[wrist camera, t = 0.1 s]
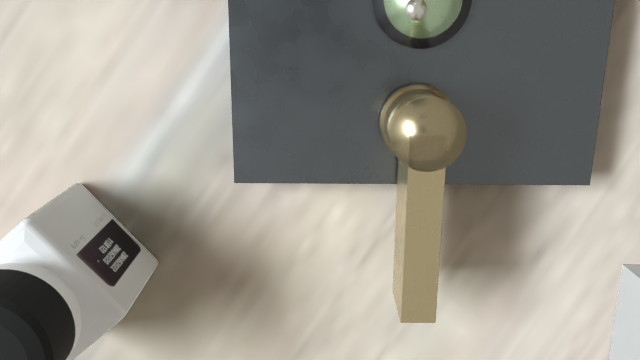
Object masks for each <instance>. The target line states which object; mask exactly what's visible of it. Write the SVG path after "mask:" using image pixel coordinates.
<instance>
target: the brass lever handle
mask: <svg viewBox="0 0 640 360" xmlns="http://www.w3.org/2000/svg"><path fill="white" fill-rule="evenodd" d="M379 126H380V131H381V134H382V137H383V139H384V141H385V143H386V144H387V146H388V147H389V148H390V149H391V150H392V151H393V152H394V153H395V154H396V156H397V157H398V179H397V202H396V225H395V249H394V272H393V294H394V298H395V302H396V306H397V310H398V314H399V318H400V322H401V323H435V322H436V306H437V291H438V276H439V261H440V245H441V230H442V215H443V200H444V184H445V169H446V167H447V166H448V165H450V164H451V163H453V162H454V161H455V160H456V159H457V158H458V156H459V155H460V154H461V152H462V150H463V148H464V146H465V142H466V137H467V129H466V124H465V120H464V118H463V116H462V114H461V113H460V111H459V110H458V109H457V108H456V107H455V106H454V105H453V104H451V102H450V100H449V99H448V98H447V97H446V96H445V95H444V94H443V93H442V92H440V91H439V90H437V89H436V88H434V87H432V86H429V85H425V84H411V85H407V86H404V87H402V88H399V89H398V90H396V91H395V92H394V93H392V94H391V95H390V96H389V97H388V98H387V100H386V101H385V103H384V105H383V107H382V109H381V112H380V118H379Z"/></svg>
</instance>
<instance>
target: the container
mask: <svg viewBox="0 0 640 360" xmlns="http://www.w3.org/2000/svg"><path fill="white" fill-rule="evenodd" d="M157 266H158V260H157V259H156V258H155V257H154V256H153V255H152V254H151V253H150V252H149V251H148V250H147V249H146V248H145V247H144V246H143V245H142V244H141V243H140V242H139V241H138V240H137V239H136V238H135V237H134V236H133V235H132V234H131V233H130V232H129V231H128V230H127V229H126V228H125V227H124V226H123V225H122V224H121V223H120V222H119V221H118V220H117V219H116V218H115V217H114V216H113V215H112V214H111V213H110V212H109V211H108V210H107V209H106V208H105V207H104V206H103V205H102V204H101V203H100V202H99V201H98V200H97V199H96V198H95V197H94V196H93V195H92V194H91V193H90V192H89V191H88V190H87V189H86V188H85V187H84V186H83V185H82V184H79V183H76V184H74V185H72V186H71V187H69V188H68V189H67V190H65V191H64V192H62V193H61V194H60V195H58V196H57V197H55V198H54V199H52V200H51V201H50V202H48V203H47V204H45V205H44V206H42V207H41V208H40V209H38V210H37V211H35V212H34V213H32V214H31V215H30V216H28V217H27V218H25V219H24V220H23V221H21V222H20V223H19V224H18V225H17V226H16V227H15V228H14V229H13V230H12V231H10V232H9V233H8V234H7V235H6V236H5V237H4V238H3V239H2V240H1V241H0V360H74V359H75V358H76V357H77V356H78V355H80V354H81V353H82V352H83V351H84V350H86V349H87V348H88V347H89V346H90V345H92V344H93V343H94V342H95V341H97V340H98V339H99V338H100V337H101V336H103V335H104V334H105V333H106V332H107V331H109V330H110V329H111V328H112V327H113V326H115V325H116V324H117V323H118V322H119V321H121V320H122V319H123V318H124V317H125V316H126V314H127V313H128V311H129V310H130V308H131V306H132V305H133V303H134V302H135V300H136V299H137V297H138V295H139V294H140V292H141V291H142V289H143V288H144V286H145V285H146V283H147V281H148V280H149V278H150V277H151V275H152V274H153V272H154V270H155V269H156V267H157Z"/></svg>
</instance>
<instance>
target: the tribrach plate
mask: <svg viewBox="0 0 640 360" xmlns="http://www.w3.org/2000/svg"><path fill="white" fill-rule="evenodd" d="M228 8H229V37H230V66H231V96H232V125H233V154H234V183H341V184H397V179H398V157H397V156H396V154H395V153H394V152H393V151H392V150H391V149H390V148H389V147H388V146H387V144H386V143H385V141H384V139H383V137H382V134H381V131H380V126H379V118H380V112H381V109H382V107H383V105H384V103H385V101H386V100H387V98H388V97H389V96H390V95H391V94H392V93H394V92H395V91H396V90H398V89H399V88H402V87H404V86H407V85H411V84H425V85H429V86H432V87H434V88H436V89H437V90H439V91H440V92H442V93H443V94H444V95H445V96H446V97H447V98H448V99H449V100H450V102H451V104H453V105H454V106H455V107H456V108H457V109H458V110H459V111H460V113H461V114H462V116H463V118H464V120H465V124H466V129H467V137H466V142H465V146H464V148H463V150H462V152H461V154H460V155H459V156H458V158H457V159H456V160H455V161H454V162H453V163H451V164H450V165H448V166H447V167H446V169H445V184H506V185H590V178H591V171H592V164H593V156H594V149H595V141H596V134H597V126H598V119H599V112H600V104H601V97H602V89H603V82H604V74H605V67H606V60H607V52H608V45H609V37H610V30H611V22H612V15H613V8H614V0H228Z"/></svg>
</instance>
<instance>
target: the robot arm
mask: <svg viewBox="0 0 640 360" xmlns="http://www.w3.org/2000/svg"><path fill="white" fill-rule="evenodd" d="M608 360H640V265H639V264H623V266H622V272H621V279H620V285H619V292H618V298H617V305H616V311H615V318H614V324H613V331H612V337H611V344H610V350H609V357H608Z"/></svg>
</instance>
